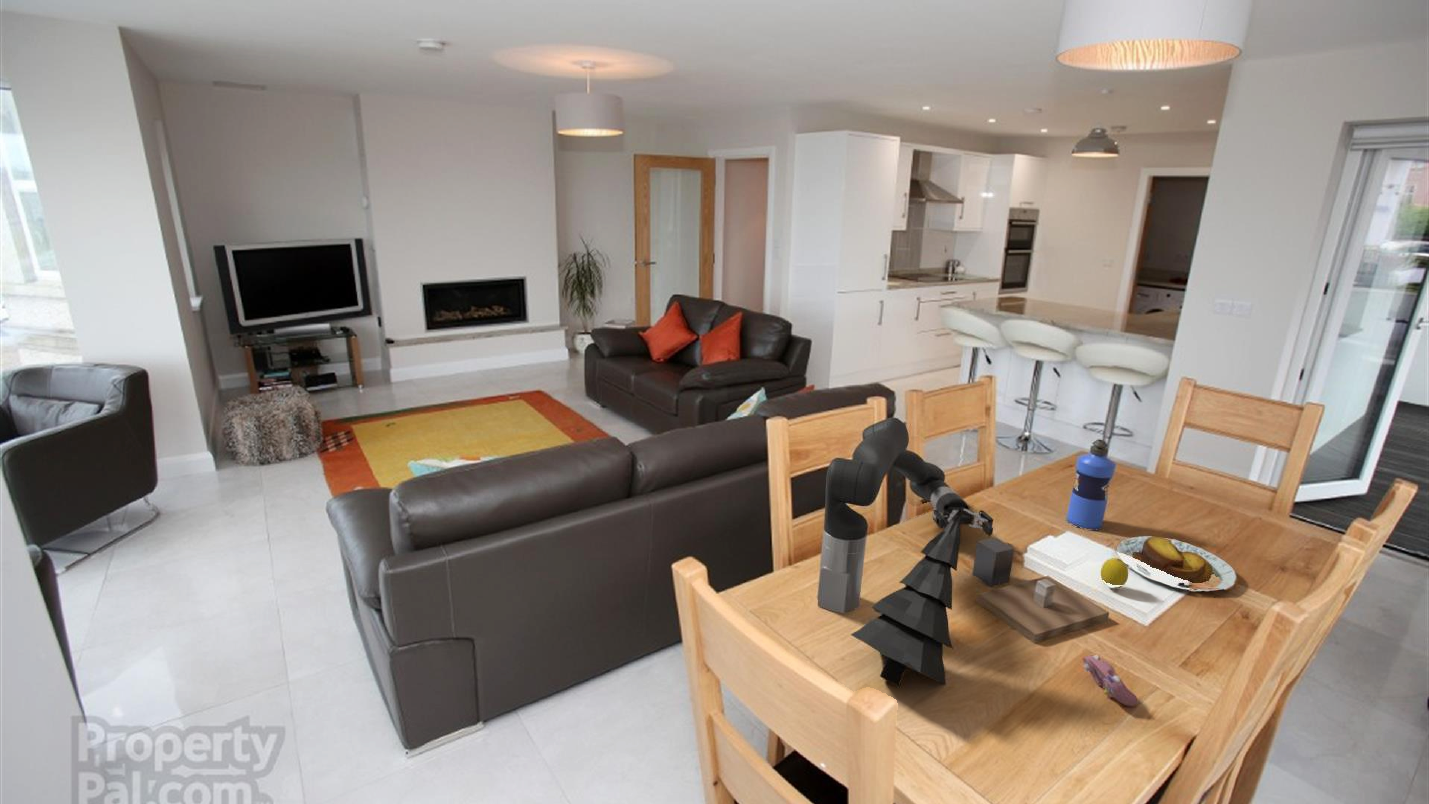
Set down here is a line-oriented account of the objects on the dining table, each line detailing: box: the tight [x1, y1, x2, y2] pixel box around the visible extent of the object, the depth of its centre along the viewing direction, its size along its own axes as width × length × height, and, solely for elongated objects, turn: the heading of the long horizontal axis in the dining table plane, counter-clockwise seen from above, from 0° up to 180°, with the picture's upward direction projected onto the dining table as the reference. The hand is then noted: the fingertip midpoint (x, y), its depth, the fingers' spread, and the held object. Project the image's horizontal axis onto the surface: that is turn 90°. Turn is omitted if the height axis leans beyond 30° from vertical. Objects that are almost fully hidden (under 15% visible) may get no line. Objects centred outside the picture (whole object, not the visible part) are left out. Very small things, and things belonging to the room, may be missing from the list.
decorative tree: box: [850, 508, 963, 687], centre depth 129 cm, size 15×15×35 cm
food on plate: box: [1115, 535, 1239, 593], centre depth 171 cm, size 25×25×7 cm
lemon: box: [1100, 557, 1129, 586], centre depth 161 cm, size 6×6×8 cm
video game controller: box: [1082, 654, 1139, 707], centre depth 126 cm, size 10×5×7 cm, turn 5°
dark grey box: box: [972, 537, 1016, 588], centre depth 163 cm, size 6×6×9 cm
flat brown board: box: [975, 575, 1110, 644], centre depth 151 cm, size 22×16×7 cm
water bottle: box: [1065, 439, 1117, 531], centre depth 192 cm, size 9×9×25 cm
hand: (974, 532), depth 173 cm, fingers open, 8 cm apart
